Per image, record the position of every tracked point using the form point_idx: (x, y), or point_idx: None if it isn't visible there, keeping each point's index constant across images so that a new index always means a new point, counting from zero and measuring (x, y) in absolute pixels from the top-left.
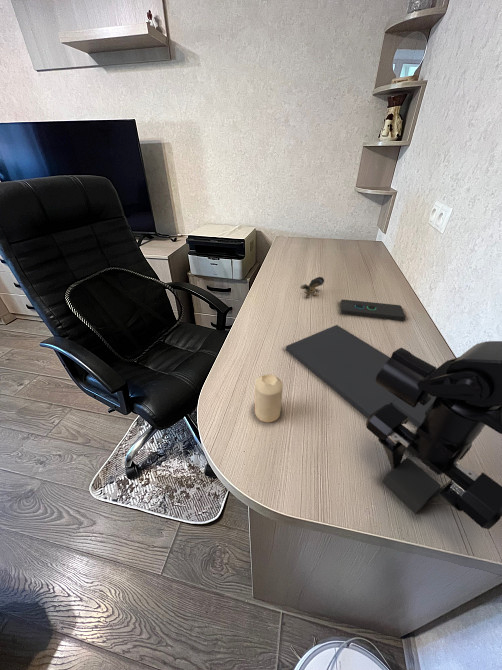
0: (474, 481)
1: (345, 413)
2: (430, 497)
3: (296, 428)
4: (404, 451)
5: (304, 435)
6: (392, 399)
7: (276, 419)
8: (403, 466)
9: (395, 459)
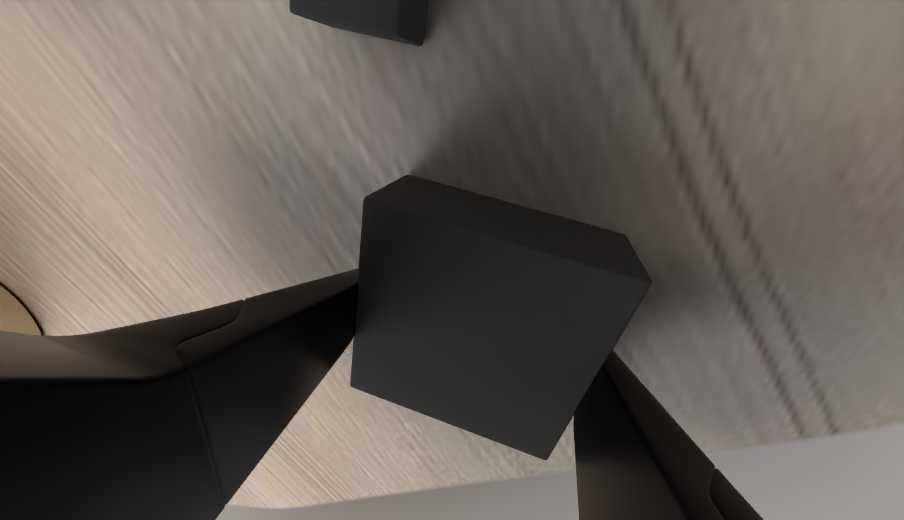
0: None
1: (26, 65)
2: (578, 461)
3: (78, 309)
4: (251, 349)
5: (111, 318)
6: None
7: (32, 320)
8: (381, 294)
9: (269, 431)
